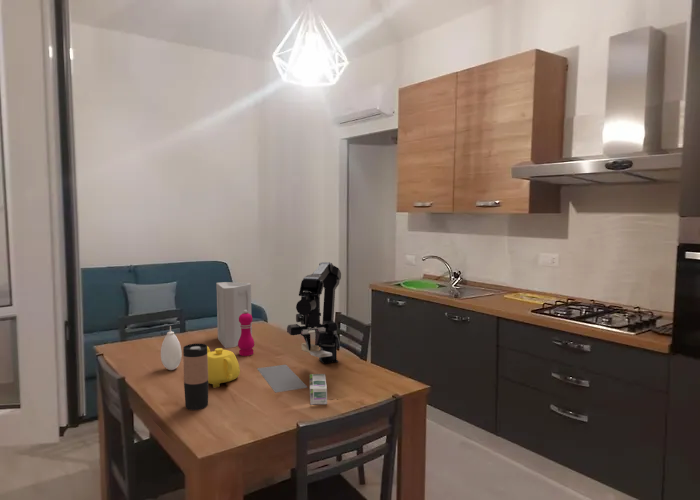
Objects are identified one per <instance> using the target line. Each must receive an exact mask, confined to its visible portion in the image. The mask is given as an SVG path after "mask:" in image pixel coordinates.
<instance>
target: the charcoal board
mask: <svg viewBox="0 0 700 500" xmlns="http://www.w3.org/2000/svg"><path fill="white" fill-rule="evenodd" d="M256 369H257V371H258V372H259V373H260V374H261V376H262V378H264V380H265V382H266V383H267V384H268V385H269V386H270V388H271V389H272V390H273V392H274V393H283V392H288V391H294V390H295V391H296V390H301V389H307V388H309V387H308V386H307V384H305V383H304V382H303V381H302V379H300V378H299V376H298V375H296V373H295V372H294V371H293V370H292V369H291V368H290V367H289V366H288V365H287V364H281V365H271V366H266V367H258V368H256Z"/></svg>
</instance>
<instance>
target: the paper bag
mask: <svg viewBox="0 0 700 500" xmlns="http://www.w3.org/2000/svg"><path fill="white" fill-rule="evenodd" d="M244 310H247V311H248V312H247V313H249V314H251V315H252V283H251V282H229V281H224V282H223V281H222V282H216V313H217V314H216V315H217V316H216V317H217V319H216V320H217V321H216V322H217V339H218V341H219V342H220V343H221V345H222V347H223V348H225V349H229V348H235V347H238V341H239V339H240V336H241V328H240V324H241V323H240V322H239V316H240V315H241V314H243V313H244ZM252 322H253V321H252ZM252 322H251V324H253V323H252ZM251 326H252V325H251ZM252 329H253V328H252V327H251V335H252V336H253V330H252Z"/></svg>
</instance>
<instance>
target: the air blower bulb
mask: <svg viewBox="0 0 700 500" xmlns="http://www.w3.org/2000/svg"><path fill="white" fill-rule="evenodd" d="M182 352H183V350H182V346H181V342H180V341H179V339H178V337H177V335H176V334H175V332H174V331H172V326H171V325H170V326H169V331H168V332H167V333H166V335H165V337H164V339H163V340H162V344H161V347H160V360H161V363H162V365H163V366H164V368H166V369H167V370H169V371H174V370H175V369H177V367H179V366H180V363H181V362H182V357H183V356H182V355H183V353H182Z"/></svg>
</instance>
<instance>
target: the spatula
mask: <svg viewBox="0 0 700 500" xmlns="http://www.w3.org/2000/svg"><path fill="white" fill-rule="evenodd" d="M300 345H301V351H303V352H305V353H309V355H310V356H313V357H315V358H318V359H319V358H320V357H328V356H332V353H330V352H327V351H323V350H321V351H319V350H320V347H319V346H318V345H315V343H314V344H313V343H311V348H310V351H309V350H308V347H307V344H306V342H302V343H301V344H300Z"/></svg>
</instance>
